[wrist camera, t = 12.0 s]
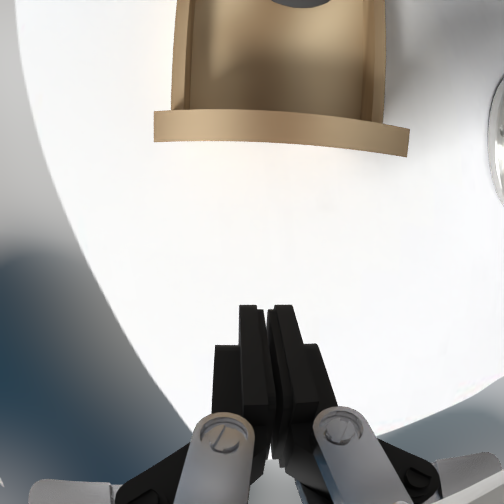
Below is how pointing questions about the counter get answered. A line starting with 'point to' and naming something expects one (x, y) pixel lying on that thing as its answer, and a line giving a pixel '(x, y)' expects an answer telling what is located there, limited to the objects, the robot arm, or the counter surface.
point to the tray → (280, 75)
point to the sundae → (301, 3)
